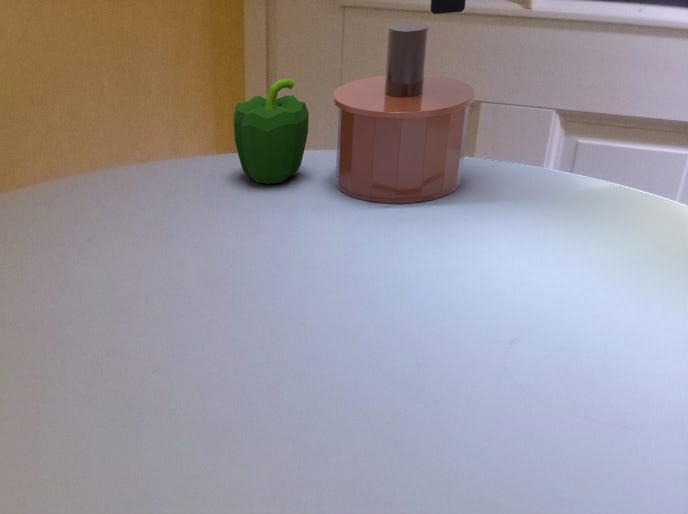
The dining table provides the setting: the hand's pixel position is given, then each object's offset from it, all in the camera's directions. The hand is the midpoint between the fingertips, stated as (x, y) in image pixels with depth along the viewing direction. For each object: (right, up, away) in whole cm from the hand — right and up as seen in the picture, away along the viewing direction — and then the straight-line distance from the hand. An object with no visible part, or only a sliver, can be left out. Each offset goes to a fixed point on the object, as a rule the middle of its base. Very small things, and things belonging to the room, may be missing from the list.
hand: (437, 3), depth 98 cm
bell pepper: (-16, -11, +15) cm, 24 cm away
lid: (-2, -6, +6) cm, 9 cm away
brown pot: (-2, -12, +12) cm, 17 cm away
